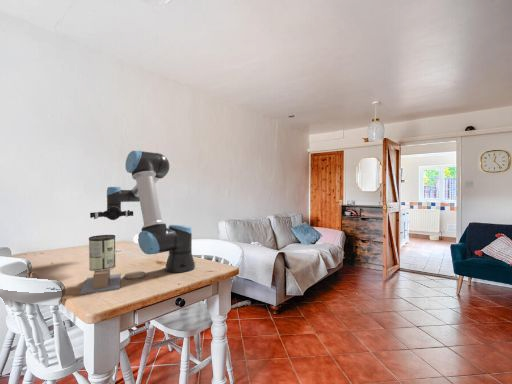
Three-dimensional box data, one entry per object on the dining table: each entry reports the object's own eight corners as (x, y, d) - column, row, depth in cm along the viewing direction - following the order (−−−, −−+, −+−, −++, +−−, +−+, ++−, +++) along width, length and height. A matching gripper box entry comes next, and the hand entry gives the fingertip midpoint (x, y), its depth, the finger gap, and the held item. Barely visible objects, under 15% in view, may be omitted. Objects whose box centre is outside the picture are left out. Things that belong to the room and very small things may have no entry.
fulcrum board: (119, 288, 113) (119, 272, 113) (80, 294, 107) (79, 276, 107) (120, 275, 131) (120, 261, 131) (87, 279, 125) (87, 264, 125)
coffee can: (97, 265, 124) (97, 234, 124) (119, 264, 124) (119, 234, 124) (83, 271, 113) (83, 238, 113) (108, 271, 114) (108, 238, 114)
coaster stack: (149, 275, 133) (149, 271, 133) (138, 281, 124) (138, 277, 124) (132, 274, 134) (132, 270, 134) (120, 280, 125) (120, 276, 125)
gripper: (137, 218, 160) (138, 221, 141) (88, 220, 149) (82, 224, 130) (136, 205, 160) (138, 206, 141) (88, 207, 149) (82, 208, 130)
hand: (111, 215), depth 136 cm, fingers open, 13 cm apart
